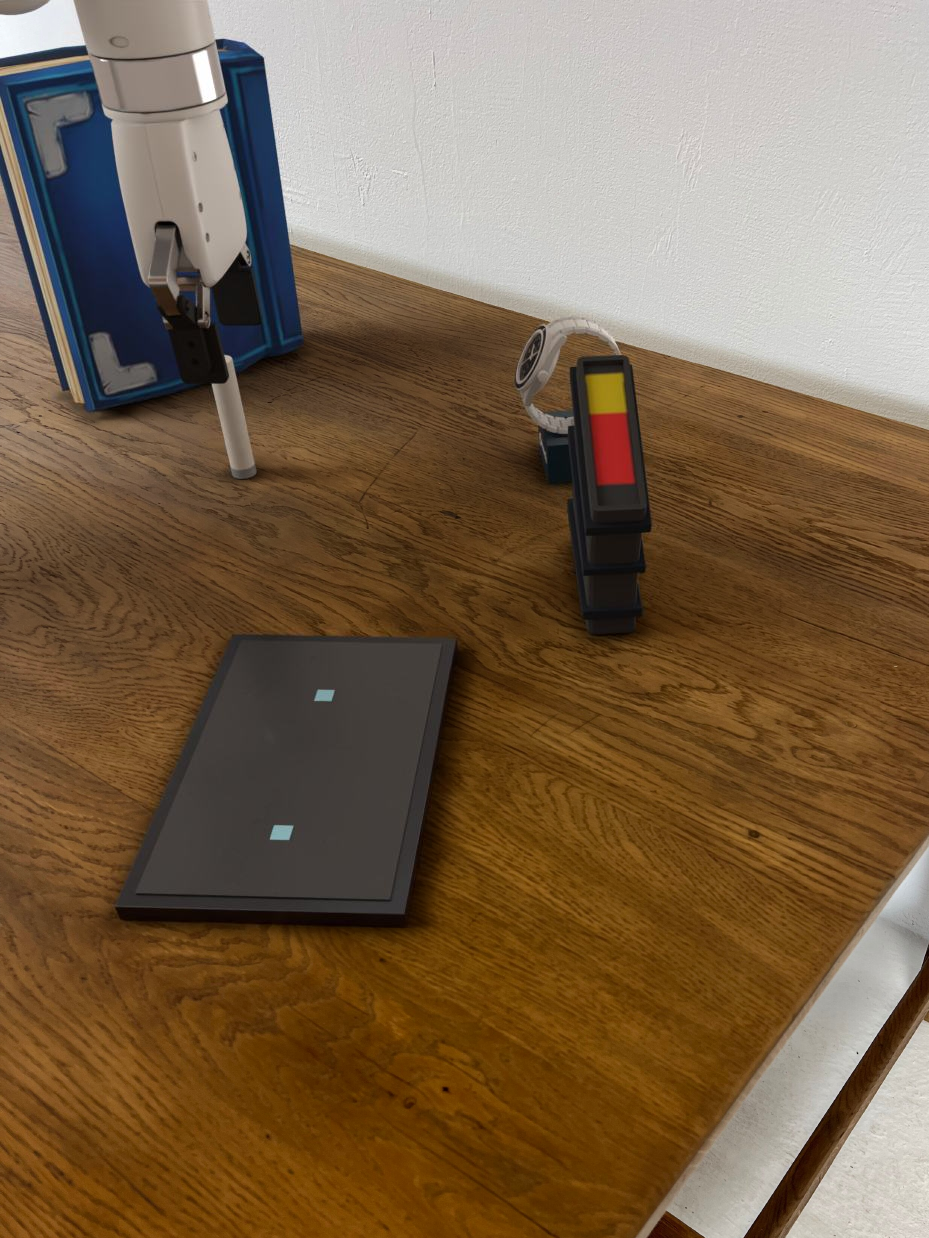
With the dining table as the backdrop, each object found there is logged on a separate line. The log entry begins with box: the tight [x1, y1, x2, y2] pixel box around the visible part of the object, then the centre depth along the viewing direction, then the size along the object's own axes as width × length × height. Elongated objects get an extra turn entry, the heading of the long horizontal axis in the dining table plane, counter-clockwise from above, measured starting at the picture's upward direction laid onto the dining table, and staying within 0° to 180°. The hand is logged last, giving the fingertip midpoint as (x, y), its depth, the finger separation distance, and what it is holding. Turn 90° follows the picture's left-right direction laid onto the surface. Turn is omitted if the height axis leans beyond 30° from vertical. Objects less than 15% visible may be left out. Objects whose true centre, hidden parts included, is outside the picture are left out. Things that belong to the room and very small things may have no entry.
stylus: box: [211, 355, 257, 480], centre depth 85 cm, size 2×2×9 cm
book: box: [0, 38, 305, 414], centre depth 93 cm, size 22×7×25 cm, turn 130°
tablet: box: [114, 633, 459, 928], centre depth 63 cm, size 14×22×1 cm, turn 178°
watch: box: [513, 316, 622, 485], centre depth 85 cm, size 6×8×11 cm
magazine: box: [566, 354, 653, 636], centre depth 72 cm, size 4×13×15 cm, turn 5°
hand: (225, 351), depth 82 cm, fingers open, 9 cm apart
